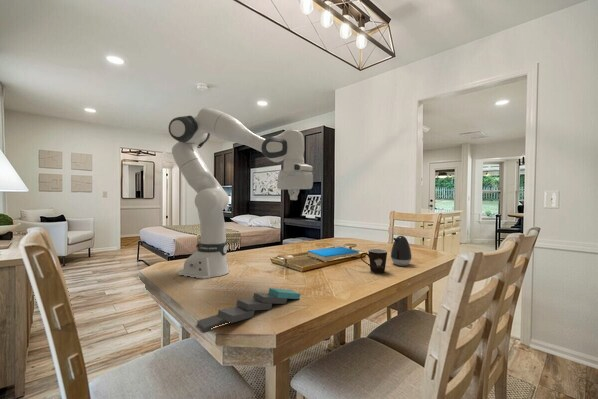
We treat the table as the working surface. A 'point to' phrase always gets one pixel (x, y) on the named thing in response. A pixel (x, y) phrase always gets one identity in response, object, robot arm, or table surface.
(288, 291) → the domino
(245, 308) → the domino
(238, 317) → the domino
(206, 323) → the domino
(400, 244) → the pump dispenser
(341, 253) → the book
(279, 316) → the table surface
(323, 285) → the table surface
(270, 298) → the domino
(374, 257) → the coffee mug
